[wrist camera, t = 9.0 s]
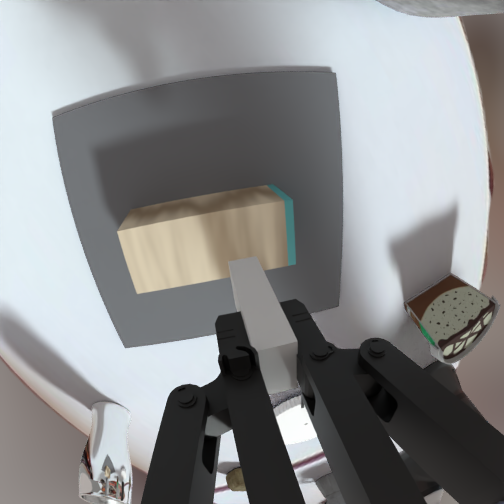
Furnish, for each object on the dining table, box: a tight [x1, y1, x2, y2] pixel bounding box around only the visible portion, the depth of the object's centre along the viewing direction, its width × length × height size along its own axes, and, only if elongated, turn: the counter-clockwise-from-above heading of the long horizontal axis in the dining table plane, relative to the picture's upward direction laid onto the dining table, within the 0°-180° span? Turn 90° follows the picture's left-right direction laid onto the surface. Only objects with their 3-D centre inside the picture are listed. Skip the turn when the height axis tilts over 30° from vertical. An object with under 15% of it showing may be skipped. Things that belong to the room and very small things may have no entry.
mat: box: [52, 72, 343, 348], centre depth 24 cm, size 24×24×1 cm
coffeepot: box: [316, 473, 346, 504], centre depth 56 cm, size 15×9×18 cm, turn 159°
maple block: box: [117, 184, 296, 294], centre depth 22 cm, size 5×5×12 cm
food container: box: [404, 273, 500, 364], centre depth 31 cm, size 12×6×10 cm, turn 111°
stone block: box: [226, 468, 246, 491], centre depth 47 cm, size 6×12×5 cm, turn 65°
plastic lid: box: [273, 395, 317, 445], centre depth 40 cm, size 14×14×2 cm
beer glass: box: [79, 401, 132, 504], centre depth 26 cm, size 7×7×15 cm
